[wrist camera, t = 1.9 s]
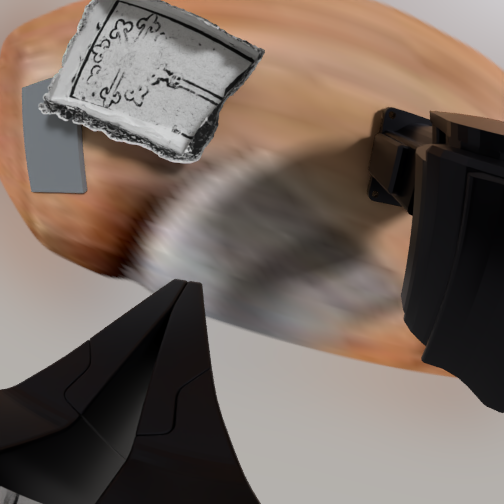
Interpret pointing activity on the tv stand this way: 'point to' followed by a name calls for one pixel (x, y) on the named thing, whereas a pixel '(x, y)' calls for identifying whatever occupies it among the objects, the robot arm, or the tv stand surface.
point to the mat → (51, 146)
